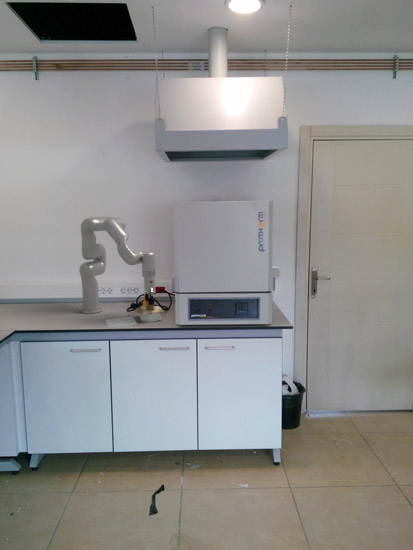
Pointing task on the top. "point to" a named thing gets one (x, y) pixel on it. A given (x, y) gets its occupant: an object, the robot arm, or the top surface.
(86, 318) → the top surface
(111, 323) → the mat
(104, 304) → the top surface
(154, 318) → the bowl
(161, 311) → the lid
